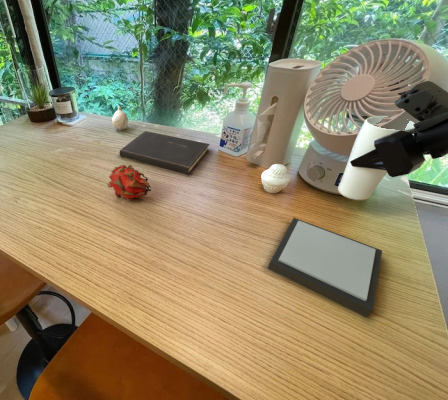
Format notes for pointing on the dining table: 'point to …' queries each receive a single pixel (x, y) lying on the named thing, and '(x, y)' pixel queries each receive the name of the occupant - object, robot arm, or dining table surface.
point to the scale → (329, 265)
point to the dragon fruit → (128, 183)
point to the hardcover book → (165, 151)
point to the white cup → (365, 177)
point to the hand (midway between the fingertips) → (362, 158)
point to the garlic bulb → (120, 119)
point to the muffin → (275, 178)
